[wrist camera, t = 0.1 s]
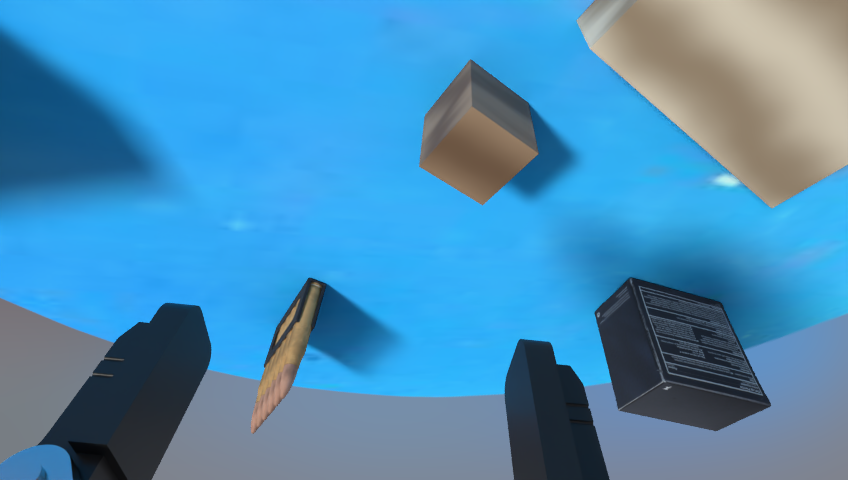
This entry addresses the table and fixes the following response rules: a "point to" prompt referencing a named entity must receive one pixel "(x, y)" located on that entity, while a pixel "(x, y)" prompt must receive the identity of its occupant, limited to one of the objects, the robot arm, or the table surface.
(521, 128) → the walnut block
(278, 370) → the ammunition clip
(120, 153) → the table surface
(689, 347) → the small box
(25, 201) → the table surface
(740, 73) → the birch plinth
